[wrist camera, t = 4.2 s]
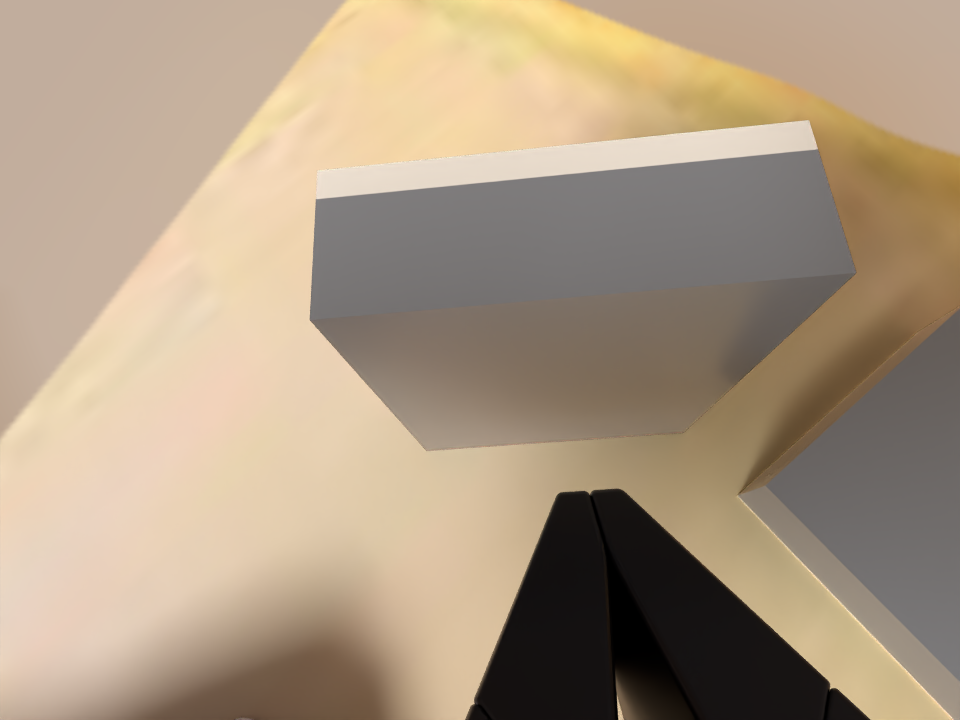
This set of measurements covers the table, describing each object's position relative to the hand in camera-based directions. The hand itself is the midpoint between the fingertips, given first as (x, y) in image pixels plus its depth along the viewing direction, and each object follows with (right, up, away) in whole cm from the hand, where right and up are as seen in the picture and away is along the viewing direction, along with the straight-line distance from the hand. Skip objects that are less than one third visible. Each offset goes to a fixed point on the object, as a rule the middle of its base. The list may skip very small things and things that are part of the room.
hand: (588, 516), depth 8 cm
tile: (0, +1, +9) cm, 9 cm away
